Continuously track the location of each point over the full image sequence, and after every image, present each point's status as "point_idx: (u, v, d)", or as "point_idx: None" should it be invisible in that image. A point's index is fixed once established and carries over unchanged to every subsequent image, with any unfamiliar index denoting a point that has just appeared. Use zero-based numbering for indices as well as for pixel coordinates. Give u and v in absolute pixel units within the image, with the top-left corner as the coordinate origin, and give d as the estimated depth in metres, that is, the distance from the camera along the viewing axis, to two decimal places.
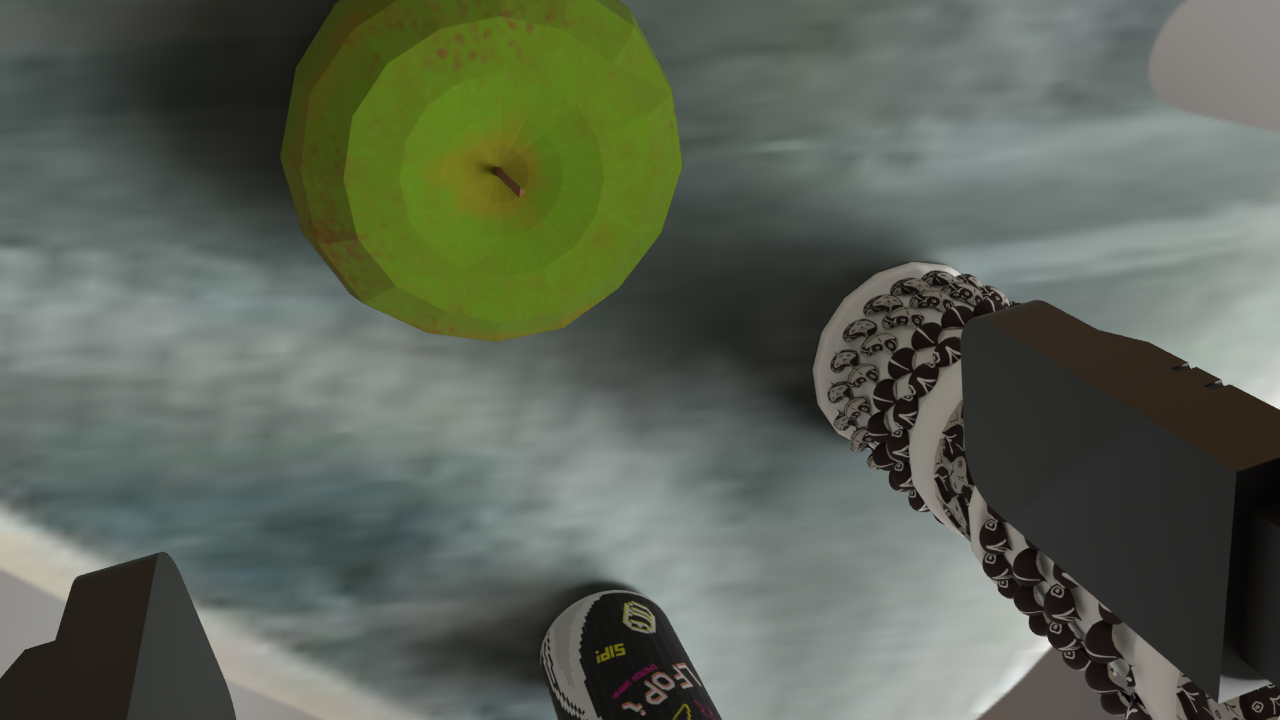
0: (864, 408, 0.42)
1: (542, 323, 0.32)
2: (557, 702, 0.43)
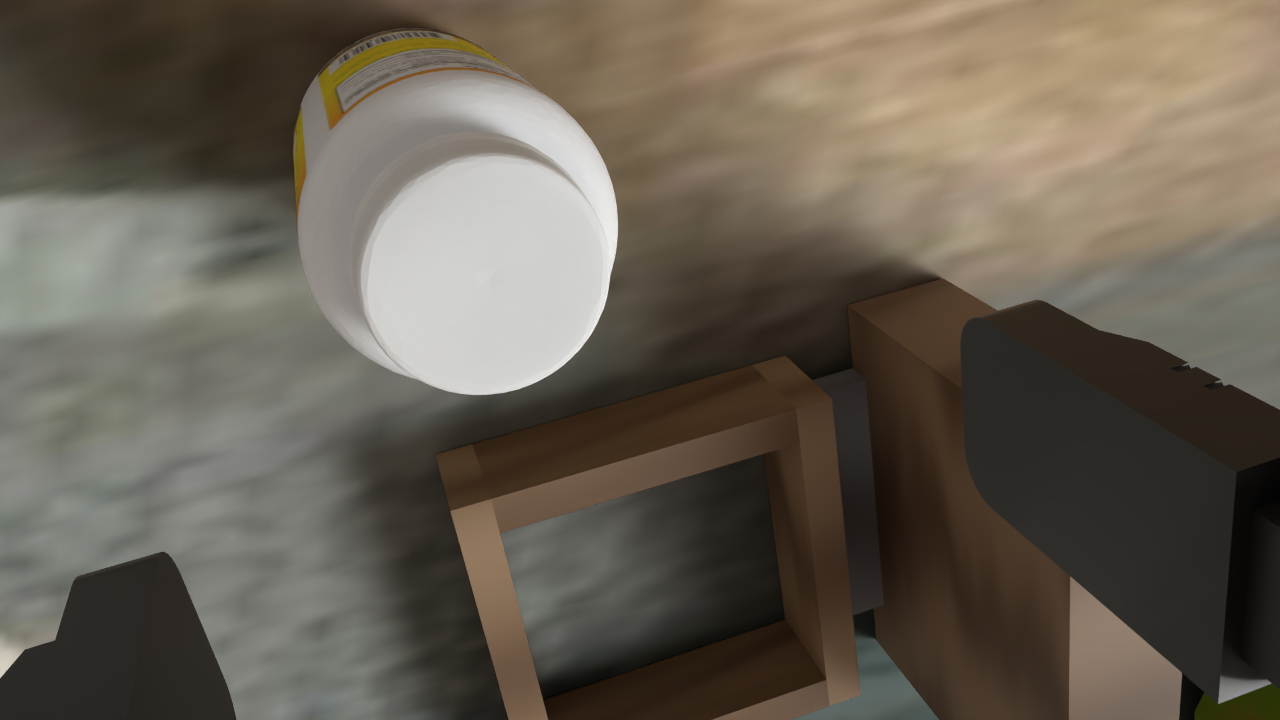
0: None
1: None
2: None
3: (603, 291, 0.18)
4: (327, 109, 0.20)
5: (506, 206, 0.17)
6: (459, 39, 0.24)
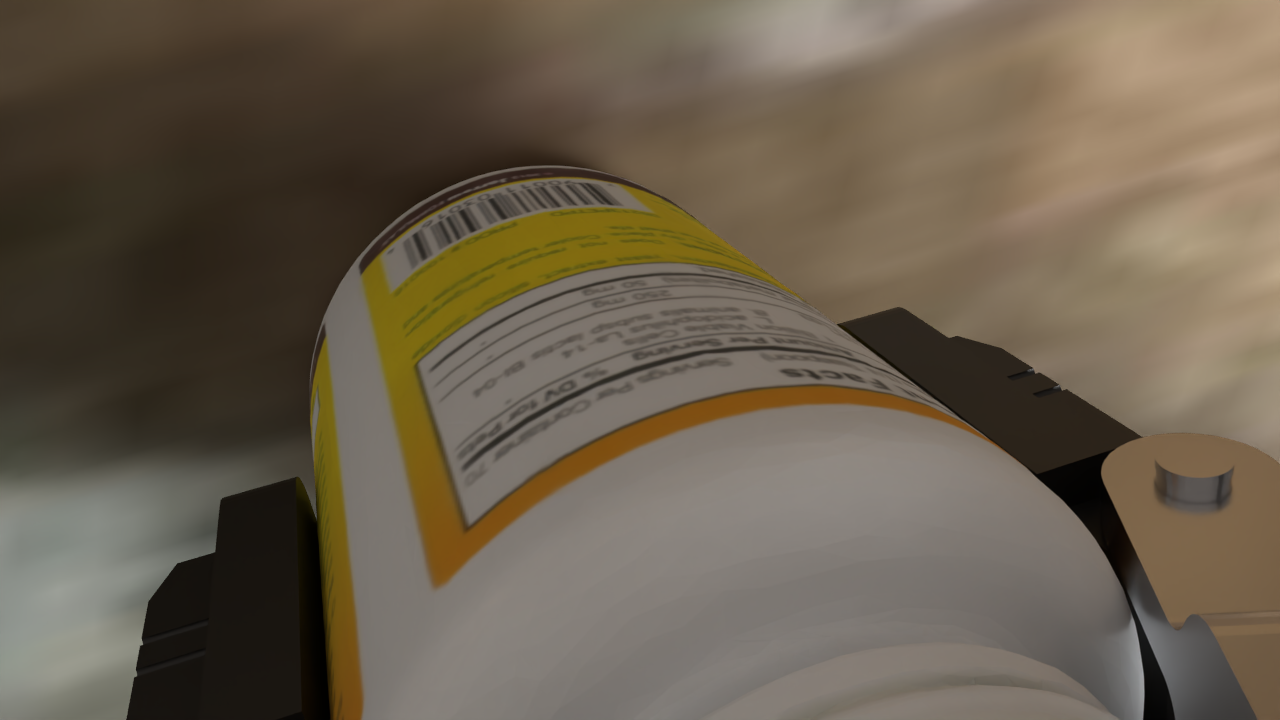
0: None
1: None
2: None
3: None
4: (404, 444, 0.08)
5: None
6: (643, 196, 0.12)
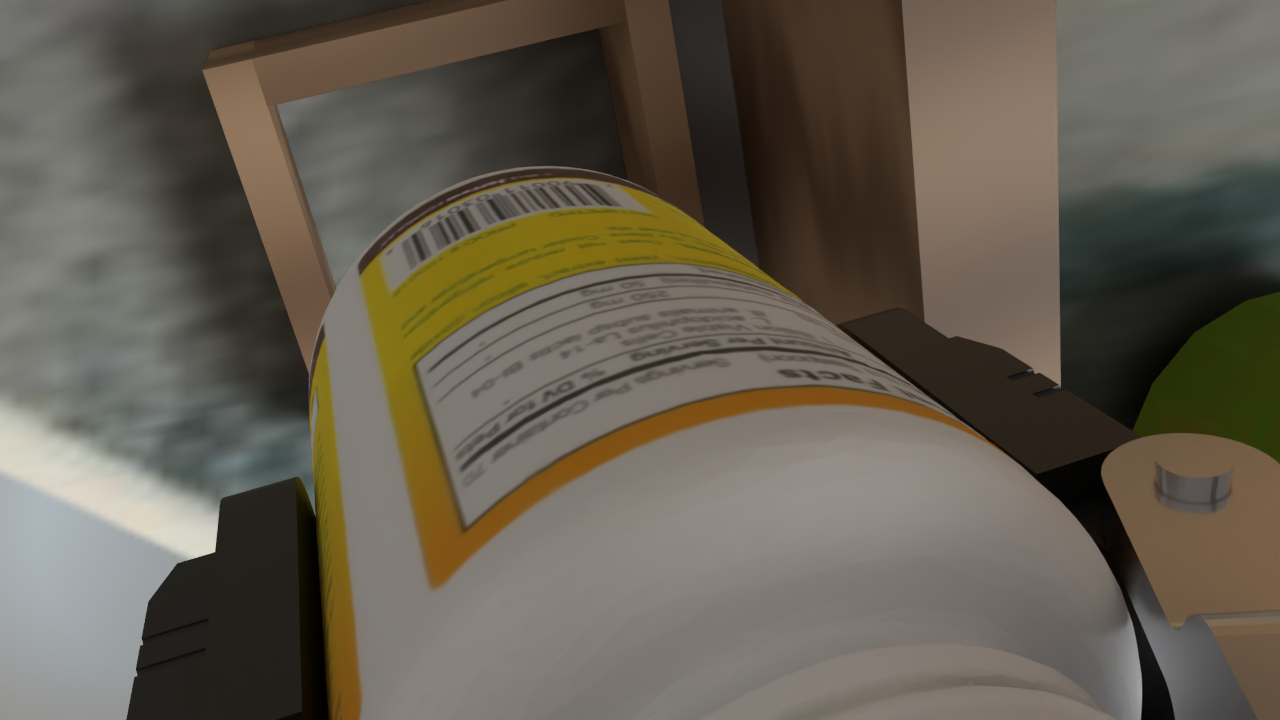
0: None
1: None
2: None
3: None
4: (403, 444, 0.08)
5: None
6: (641, 197, 0.12)
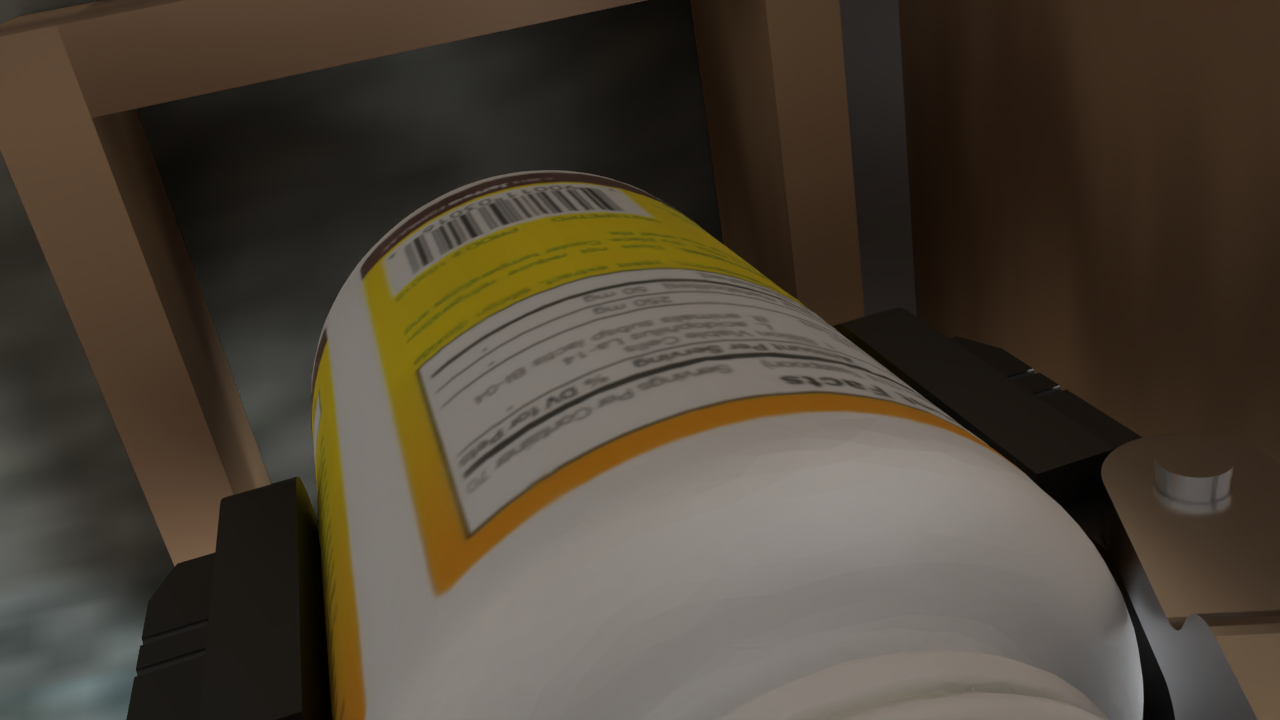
0: None
1: None
2: None
3: None
4: (406, 450, 0.08)
5: None
6: (643, 201, 0.12)
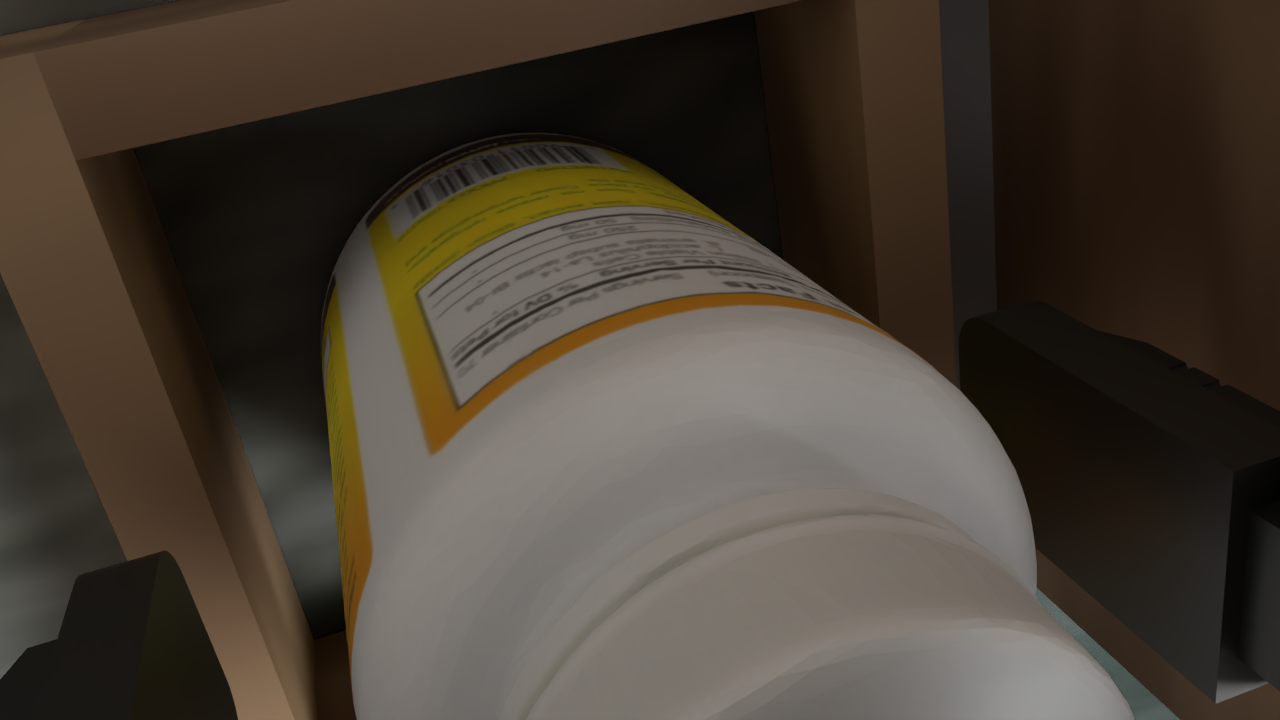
0: None
1: None
2: None
3: None
4: (406, 355, 0.09)
5: None
6: (620, 158, 0.13)
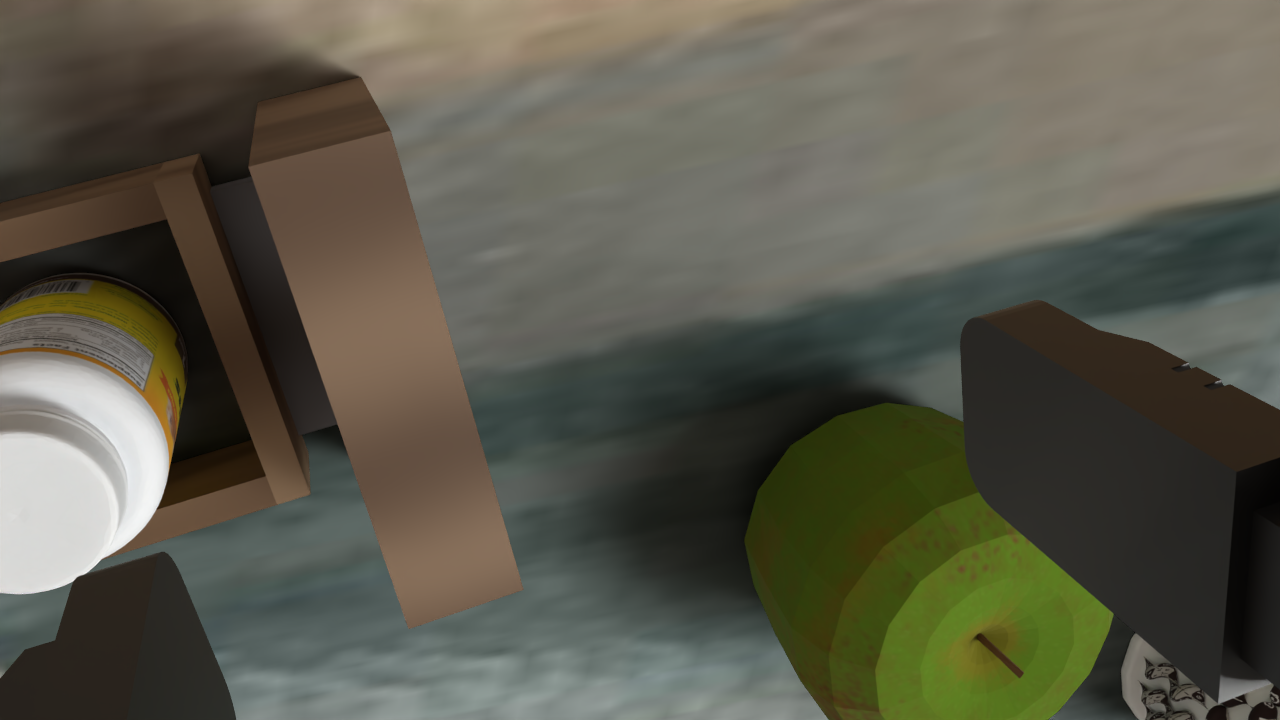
0: None
1: None
2: None
3: (112, 516, 0.24)
4: None
5: (22, 466, 0.23)
6: (97, 286, 0.31)
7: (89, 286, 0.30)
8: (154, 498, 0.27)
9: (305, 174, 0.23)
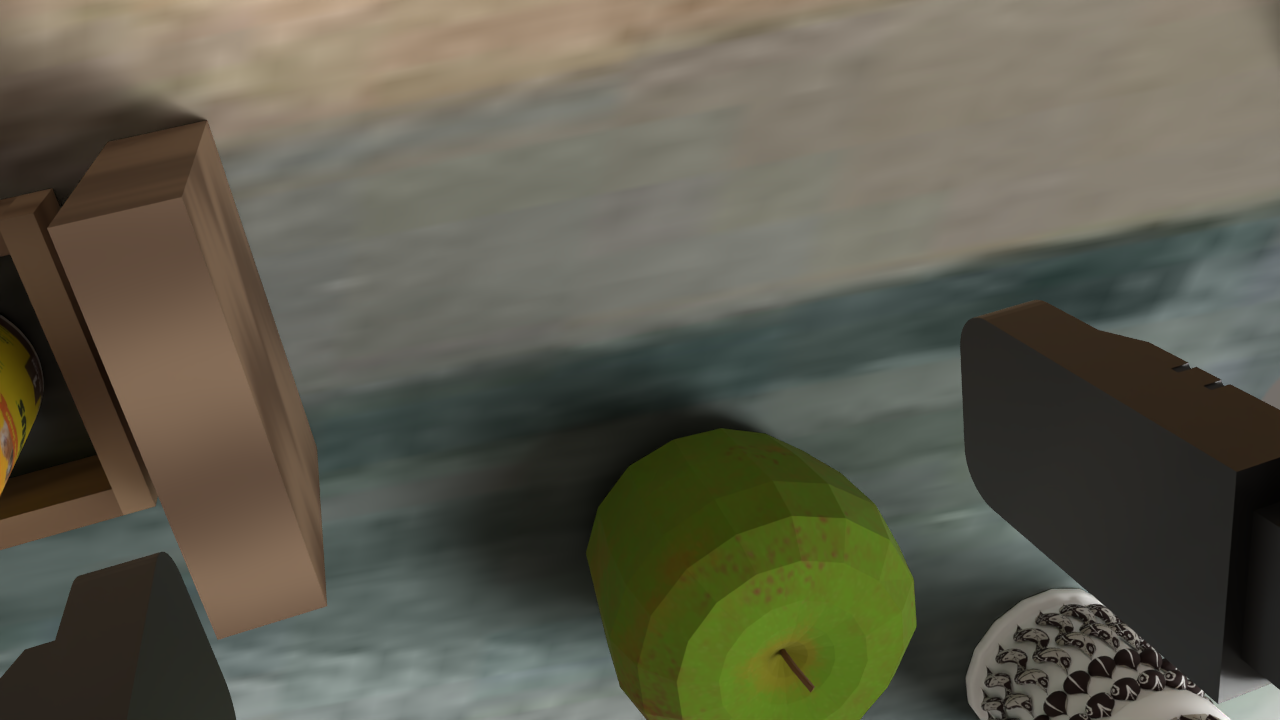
0: None
1: None
2: None
3: None
4: None
5: None
6: None
7: None
8: None
9: (101, 235, 0.26)
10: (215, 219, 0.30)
